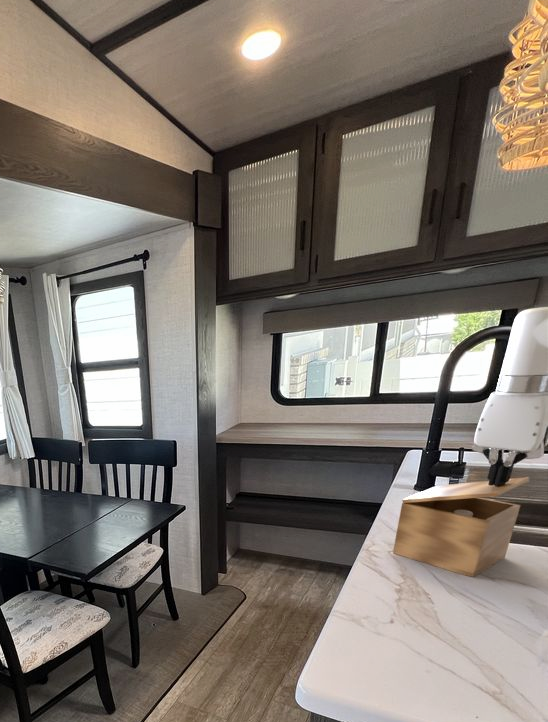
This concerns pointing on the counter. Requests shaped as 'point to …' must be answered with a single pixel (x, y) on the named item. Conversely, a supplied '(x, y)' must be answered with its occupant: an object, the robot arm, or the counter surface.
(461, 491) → the lid
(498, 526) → the chest
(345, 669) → the counter surface
